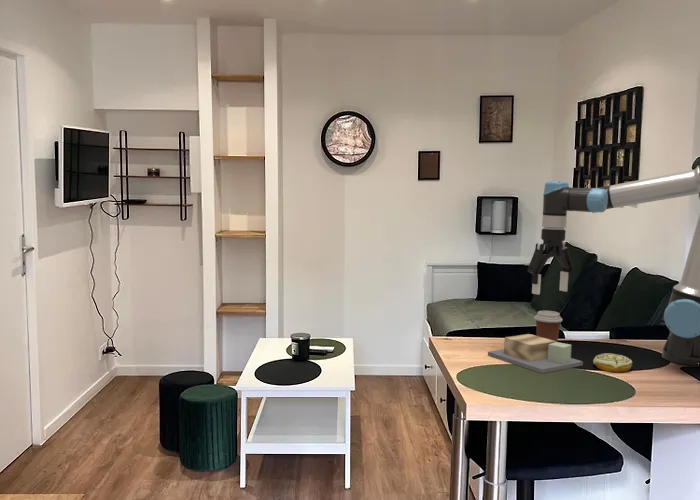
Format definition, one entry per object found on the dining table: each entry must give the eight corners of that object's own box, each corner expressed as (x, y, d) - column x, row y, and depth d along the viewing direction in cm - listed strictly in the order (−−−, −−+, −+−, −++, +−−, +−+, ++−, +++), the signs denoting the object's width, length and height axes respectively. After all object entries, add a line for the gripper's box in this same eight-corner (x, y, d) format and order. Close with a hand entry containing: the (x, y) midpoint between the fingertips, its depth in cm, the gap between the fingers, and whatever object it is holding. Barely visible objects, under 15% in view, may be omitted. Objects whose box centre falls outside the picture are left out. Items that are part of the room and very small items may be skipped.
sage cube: (570, 360, 200) (571, 344, 199) (563, 364, 196) (564, 347, 195) (554, 357, 203) (555, 341, 202) (547, 360, 199) (548, 344, 199)
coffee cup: (551, 352, 214) (553, 316, 212) (527, 347, 220) (529, 311, 219) (566, 348, 220) (568, 313, 218) (541, 343, 226) (543, 308, 225)
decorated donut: (586, 367, 198) (587, 355, 198) (605, 362, 205) (606, 350, 205) (619, 375, 190) (619, 363, 190) (637, 369, 197) (638, 357, 196)
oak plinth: (555, 357, 204) (556, 341, 203) (530, 361, 198) (531, 345, 197) (528, 348, 213) (529, 333, 212) (503, 352, 207) (504, 337, 207)
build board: (582, 365, 200) (582, 361, 199) (542, 373, 190) (542, 369, 190) (527, 348, 218) (527, 345, 218) (487, 355, 208) (487, 351, 208)
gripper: (569, 226, 225) (565, 288, 227) (518, 228, 211) (514, 293, 214) (587, 228, 219) (583, 291, 221) (536, 230, 205) (532, 297, 207)
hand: (549, 292), depth 217 cm, fingers open, 13 cm apart
